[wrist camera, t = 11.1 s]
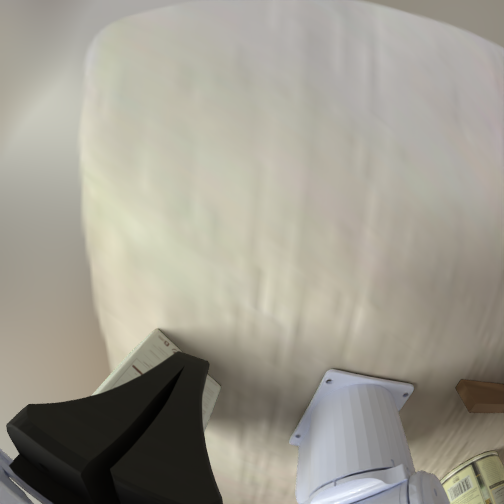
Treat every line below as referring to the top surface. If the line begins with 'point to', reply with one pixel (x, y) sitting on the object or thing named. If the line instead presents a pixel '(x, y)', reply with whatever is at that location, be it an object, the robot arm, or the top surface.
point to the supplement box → (150, 356)
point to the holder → (481, 396)
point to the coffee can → (476, 481)
